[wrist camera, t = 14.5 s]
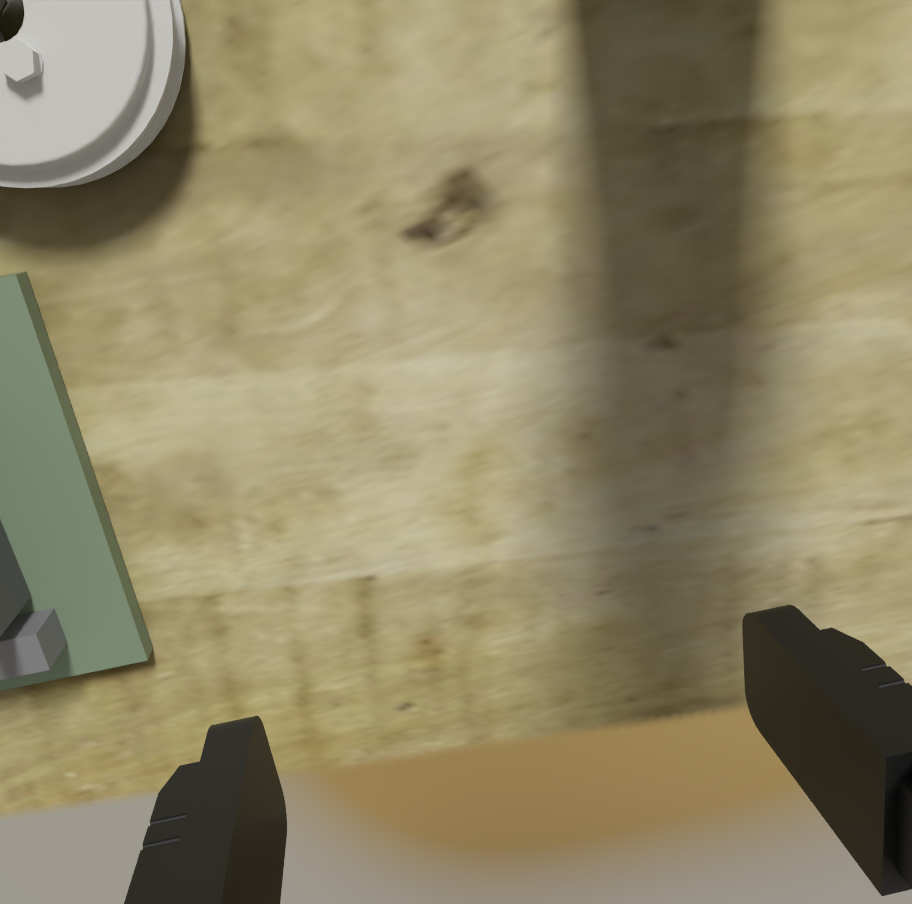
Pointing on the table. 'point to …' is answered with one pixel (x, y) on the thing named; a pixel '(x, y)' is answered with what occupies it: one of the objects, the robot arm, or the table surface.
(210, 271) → the table surface
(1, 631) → the chute
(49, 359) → the chute mount
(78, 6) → the lid
